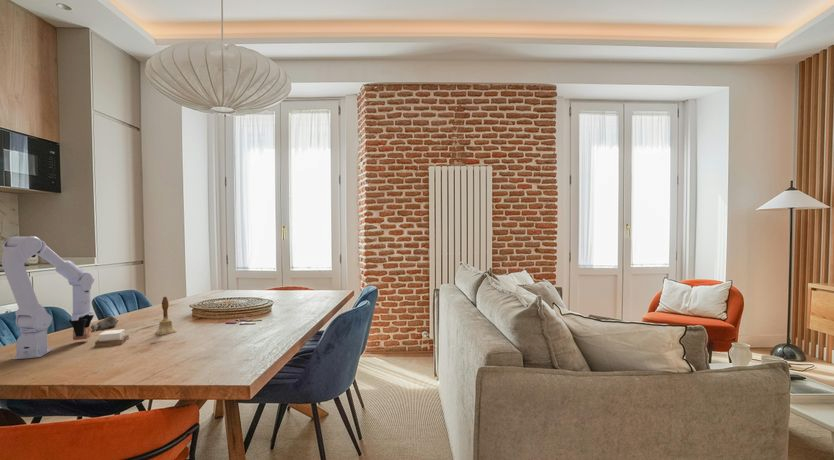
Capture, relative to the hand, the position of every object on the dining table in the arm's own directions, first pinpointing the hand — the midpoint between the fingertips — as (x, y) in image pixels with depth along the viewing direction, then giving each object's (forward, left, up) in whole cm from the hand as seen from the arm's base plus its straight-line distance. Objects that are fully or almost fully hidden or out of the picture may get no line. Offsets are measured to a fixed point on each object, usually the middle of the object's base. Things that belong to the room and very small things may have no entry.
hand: (82, 334), depth 172 cm
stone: (+25, -1, -3) cm, 26 cm away
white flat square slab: (-6, -12, -1) cm, 13 cm away
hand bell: (+5, -29, -3) cm, 30 cm away
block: (0, 0, -1) cm, 1 cm away
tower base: (-6, -12, -4) cm, 14 cm away
